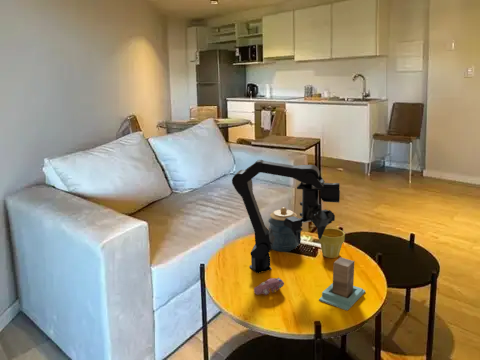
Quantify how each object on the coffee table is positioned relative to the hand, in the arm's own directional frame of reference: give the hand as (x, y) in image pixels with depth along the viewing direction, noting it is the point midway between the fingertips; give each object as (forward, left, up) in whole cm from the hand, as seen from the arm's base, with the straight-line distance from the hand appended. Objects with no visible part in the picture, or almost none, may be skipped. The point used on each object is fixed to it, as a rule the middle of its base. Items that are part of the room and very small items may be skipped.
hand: (309, 241), depth 152 cm
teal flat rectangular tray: (0, -19, -13) cm, 23 cm away
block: (0, -19, -12) cm, 22 cm away
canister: (+5, +25, -13) cm, 29 cm away
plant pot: (+17, +8, -13) cm, 23 cm away
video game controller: (-20, -5, -13) cm, 25 cm away
